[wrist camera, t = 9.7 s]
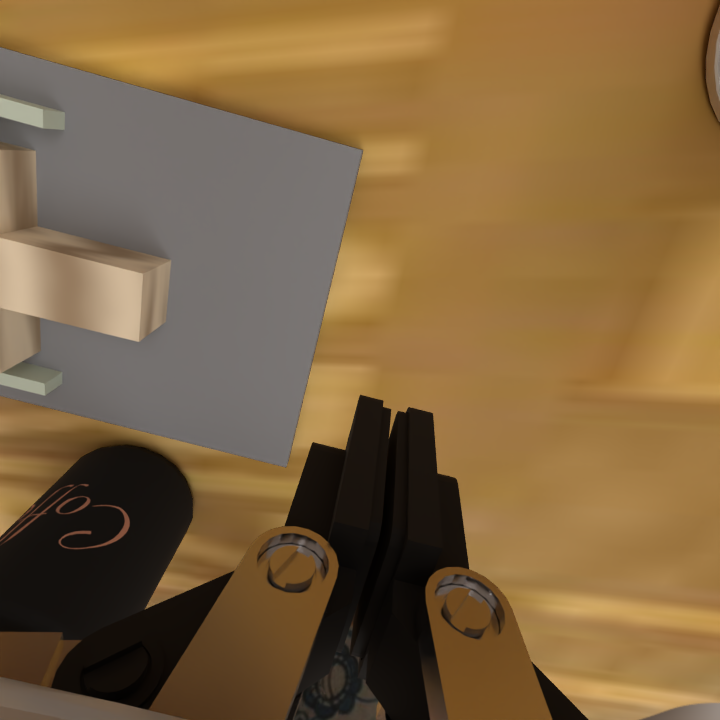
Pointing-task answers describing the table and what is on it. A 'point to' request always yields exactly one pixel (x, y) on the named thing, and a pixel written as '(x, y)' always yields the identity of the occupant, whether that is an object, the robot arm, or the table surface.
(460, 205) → the table surface
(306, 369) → the mat
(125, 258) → the t block
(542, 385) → the table surface
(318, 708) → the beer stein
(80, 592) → the coffee jar
